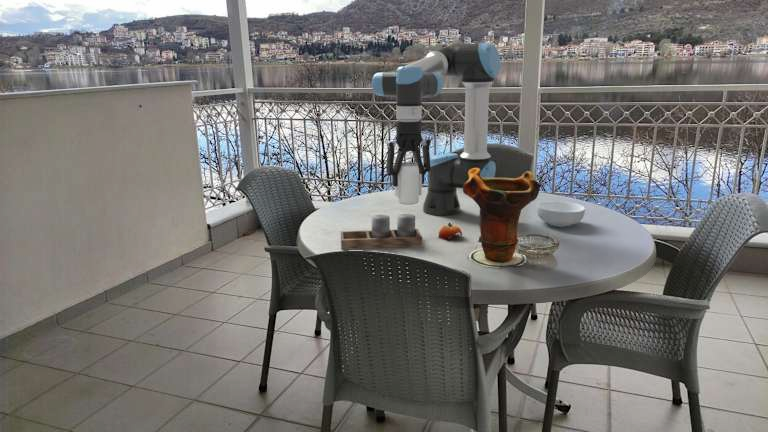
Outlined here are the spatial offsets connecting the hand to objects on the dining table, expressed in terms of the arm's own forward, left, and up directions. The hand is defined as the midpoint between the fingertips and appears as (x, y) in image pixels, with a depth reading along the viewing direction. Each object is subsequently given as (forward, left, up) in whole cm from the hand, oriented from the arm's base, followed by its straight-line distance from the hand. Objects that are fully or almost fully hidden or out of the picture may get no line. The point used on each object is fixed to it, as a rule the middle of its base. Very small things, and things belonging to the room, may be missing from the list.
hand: (408, 195), depth 164 cm
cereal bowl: (-61, -24, -19) cm, 68 cm away
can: (0, 0, -2) cm, 2 cm away
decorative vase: (-27, +8, -19) cm, 34 cm away
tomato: (-17, -13, -19) cm, 29 cm away
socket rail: (+8, -10, -19) cm, 23 cm away
